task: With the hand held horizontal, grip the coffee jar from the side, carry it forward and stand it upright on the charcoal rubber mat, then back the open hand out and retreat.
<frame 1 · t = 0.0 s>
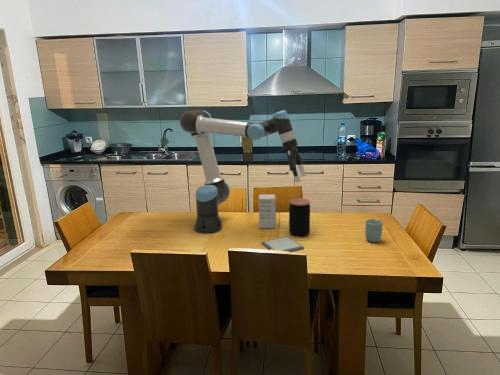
hand: (301, 179, 193), 28 cm above the table, tool tilted 20°, fingers open, 13 cm apart
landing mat: (282, 246, 178), on the table
coffee jar: (299, 234, 194), on the table
supplement box: (267, 225, 207), on the table
cup: (372, 241, 182), on the table
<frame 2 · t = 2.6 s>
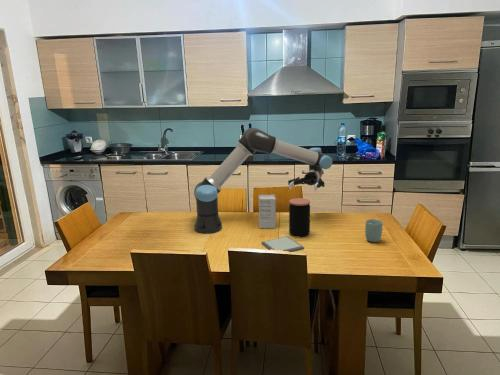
hand: (302, 187, 196), 23 cm above the table, tool horizontal, fingers open, 13 cm apart
nothing on the table moved.
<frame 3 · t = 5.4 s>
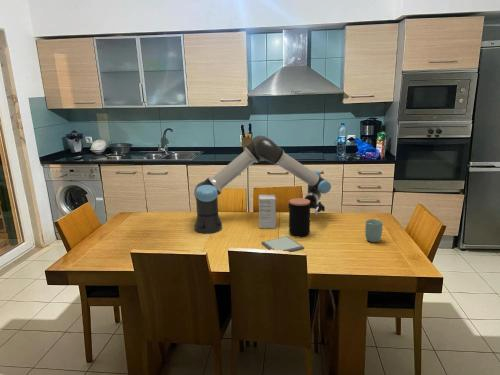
hand: (303, 211, 198), 10 cm above the table, tool horizontal, fingers open, 13 cm apart
nothing on the table moved.
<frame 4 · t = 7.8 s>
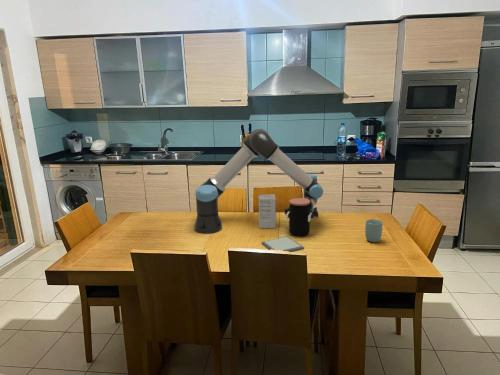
hand: (297, 218, 187), 10 cm above the table, tool horizontal, fingers closed on coffee jar, 11 cm apart
coffee jar: (299, 234, 194), on the table, touching gripper
everything else where it was.
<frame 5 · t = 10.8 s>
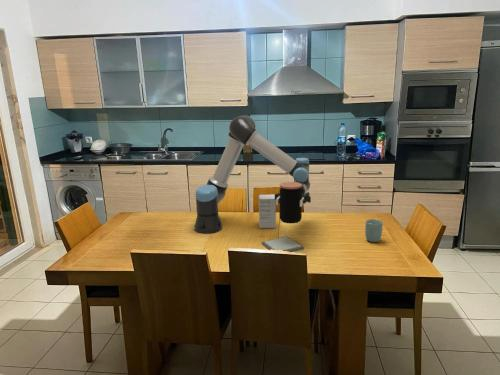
hand: (288, 203, 173), 22 cm above the table, tool horizontal, fingers closed on coffee jar, 11 cm apart
coffee jar: (290, 220, 180), point 11 cm above the table, touching gripper
everything else where it was.
when the fingers open (13 cm above the table, at t = 13.7 s): coffee jar drops 1 cm, resting on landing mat.
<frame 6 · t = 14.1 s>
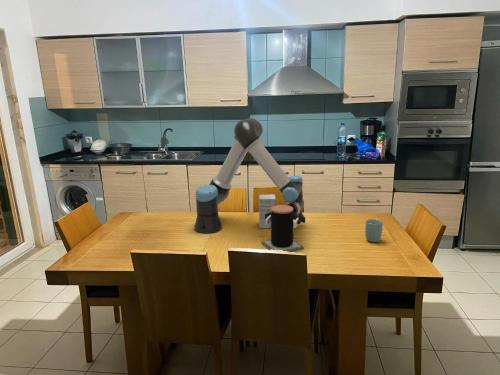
hand: (280, 223, 172), 13 cm above the table, tool horizontal, fingers open, 13 cm apart
coffee jar: (282, 244, 178), point 1 cm above the table, touching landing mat
everything else where it was.
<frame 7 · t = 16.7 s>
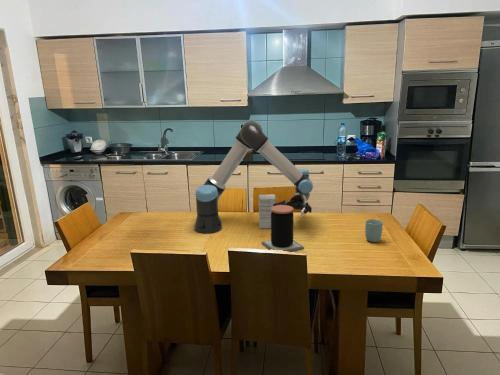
hand: (288, 212, 184), 14 cm above the table, tool horizontal, fingers open, 13 cm apart
nothing on the table moved.
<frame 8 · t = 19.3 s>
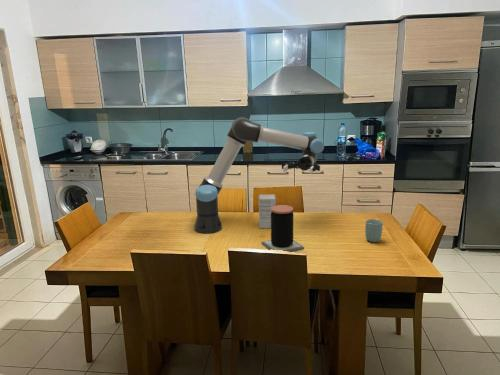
hand: (297, 170, 185), 34 cm above the table, tool horizontal, fingers open, 13 cm apart
nothing on the table moved.
at the end: coffee jar inside the target area on the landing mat (0.1 cm from its centre), point 1.1 cm above the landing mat's base; coffee jar tilted 0°; the gripper is holding nothing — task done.
